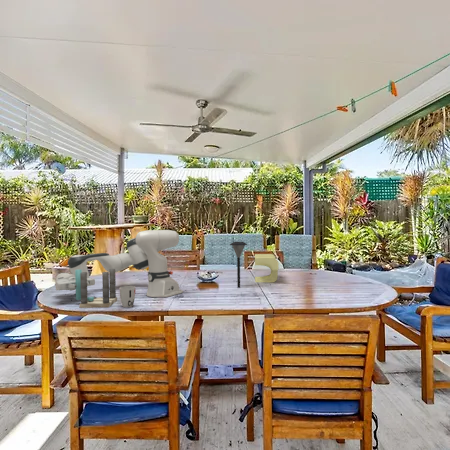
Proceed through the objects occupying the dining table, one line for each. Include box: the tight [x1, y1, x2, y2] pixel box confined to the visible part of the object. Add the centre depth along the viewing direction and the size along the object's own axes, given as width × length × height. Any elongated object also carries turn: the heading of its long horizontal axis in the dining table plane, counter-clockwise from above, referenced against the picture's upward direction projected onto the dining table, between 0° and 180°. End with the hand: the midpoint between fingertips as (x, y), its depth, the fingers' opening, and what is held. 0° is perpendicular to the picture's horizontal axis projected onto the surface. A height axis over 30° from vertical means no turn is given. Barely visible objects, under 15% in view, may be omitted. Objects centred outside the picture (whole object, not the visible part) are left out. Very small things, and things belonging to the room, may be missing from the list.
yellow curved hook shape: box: [254, 253, 280, 283], centre depth 253 cm, size 30×16×18 cm, turn 175°
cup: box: [119, 285, 136, 309], centre depth 182 cm, size 8×8×10 cm
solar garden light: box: [229, 241, 248, 289], centre depth 228 cm, size 12×12×30 cm
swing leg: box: [75, 269, 95, 301], centre depth 187 cm, size 11×3×16 cm, turn 69°
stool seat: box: [78, 269, 118, 309], centre depth 188 cm, size 16×16×18 cm
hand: (81, 285), depth 188 cm, fingers open, 5 cm apart
